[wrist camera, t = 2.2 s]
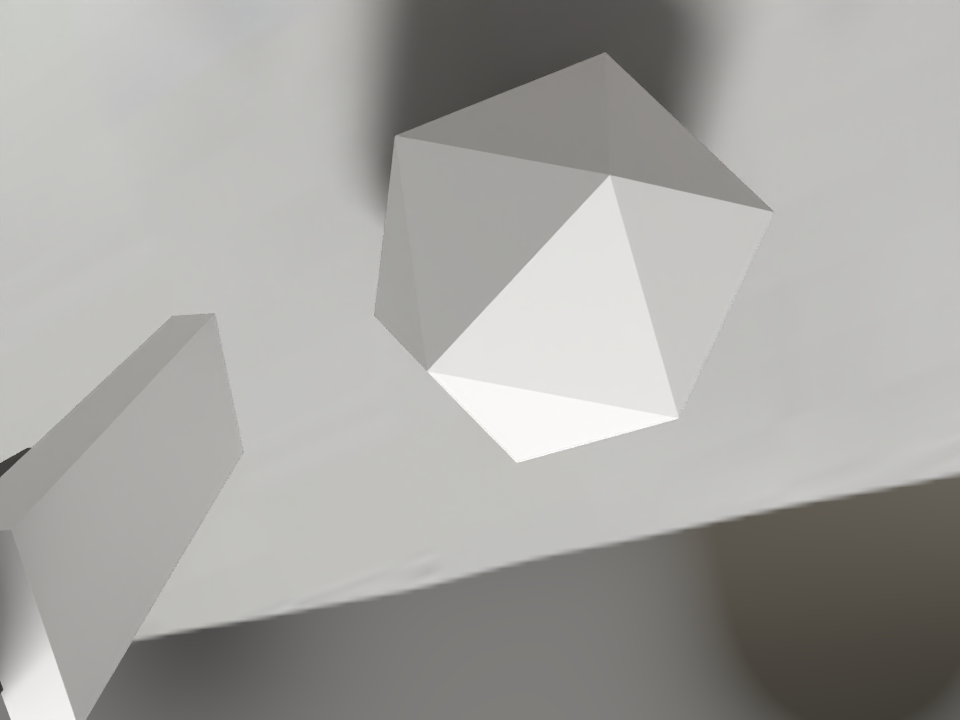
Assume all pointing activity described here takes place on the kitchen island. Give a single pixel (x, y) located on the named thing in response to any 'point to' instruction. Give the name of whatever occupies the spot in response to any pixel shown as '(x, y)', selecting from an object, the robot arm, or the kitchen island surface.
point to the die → (563, 257)
